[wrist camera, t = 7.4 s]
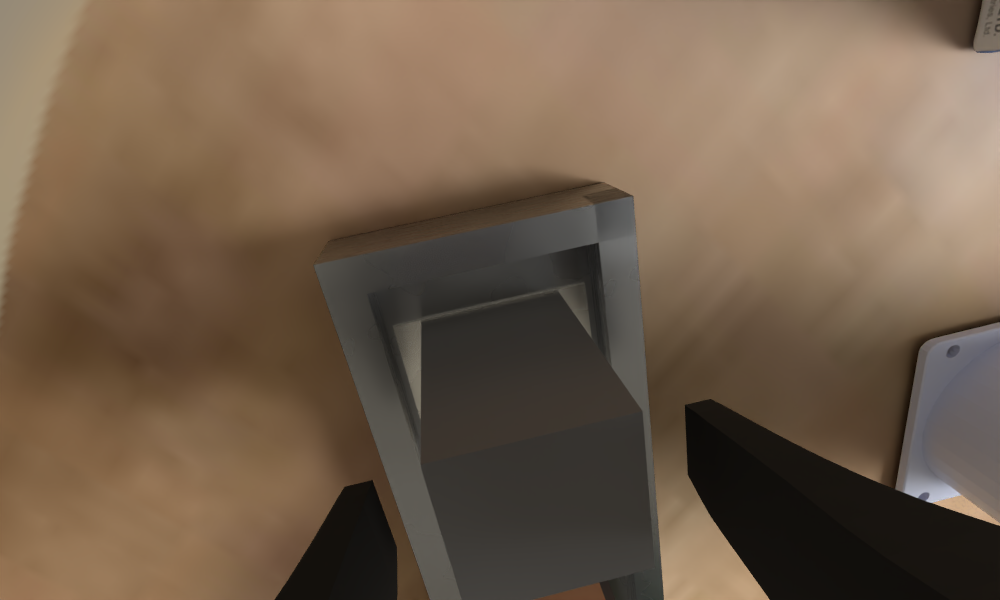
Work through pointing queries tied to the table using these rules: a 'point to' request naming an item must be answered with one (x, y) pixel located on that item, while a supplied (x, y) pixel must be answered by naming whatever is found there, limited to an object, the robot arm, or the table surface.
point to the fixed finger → (585, 593)
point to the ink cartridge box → (988, 28)
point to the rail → (474, 285)
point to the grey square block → (531, 452)
